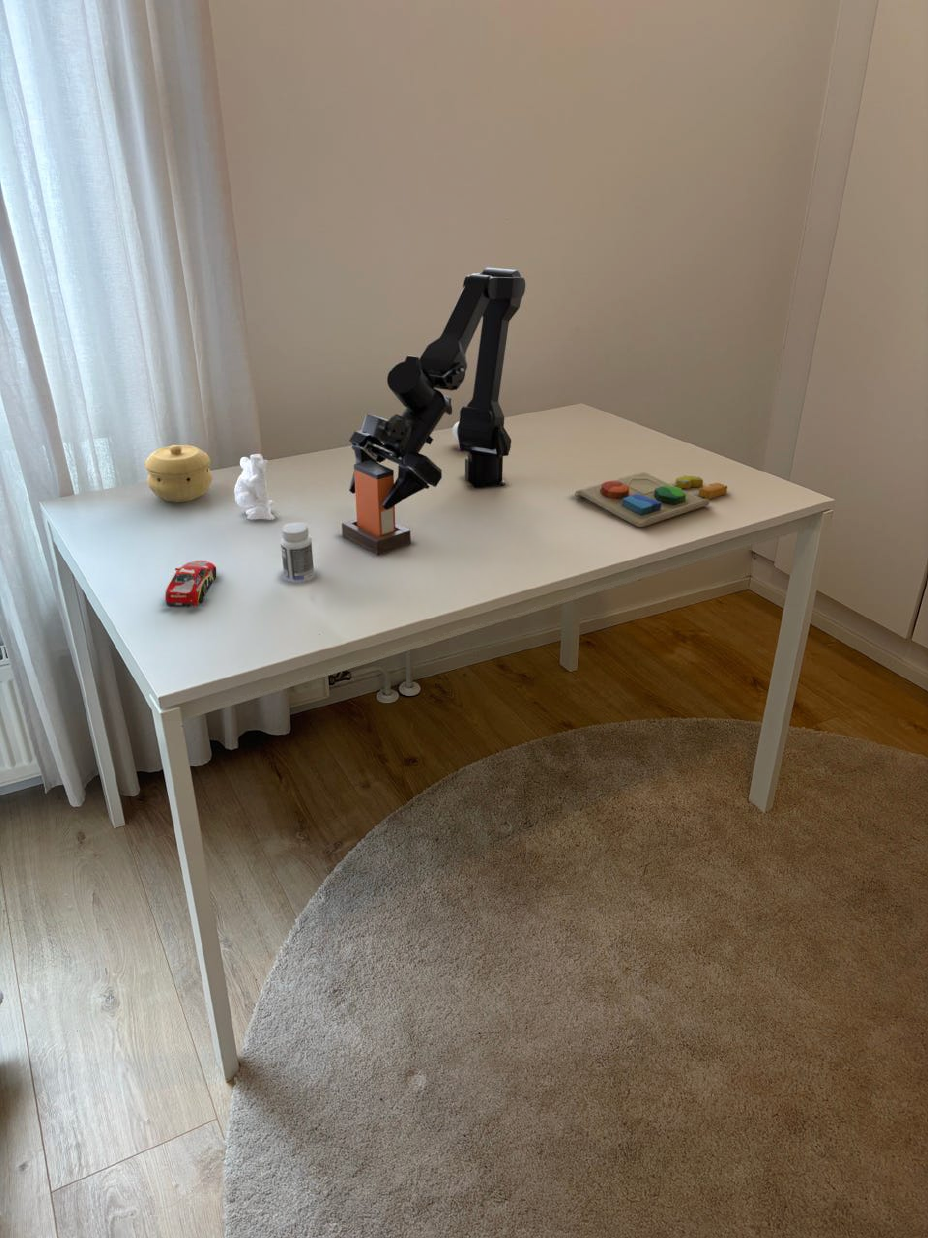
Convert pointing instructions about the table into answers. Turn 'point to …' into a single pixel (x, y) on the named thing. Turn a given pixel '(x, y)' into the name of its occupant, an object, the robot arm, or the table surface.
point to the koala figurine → (253, 488)
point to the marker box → (374, 498)
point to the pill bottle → (297, 553)
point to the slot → (374, 542)
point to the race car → (190, 584)
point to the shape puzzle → (650, 497)
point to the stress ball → (455, 432)
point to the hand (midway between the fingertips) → (367, 500)
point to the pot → (178, 473)
